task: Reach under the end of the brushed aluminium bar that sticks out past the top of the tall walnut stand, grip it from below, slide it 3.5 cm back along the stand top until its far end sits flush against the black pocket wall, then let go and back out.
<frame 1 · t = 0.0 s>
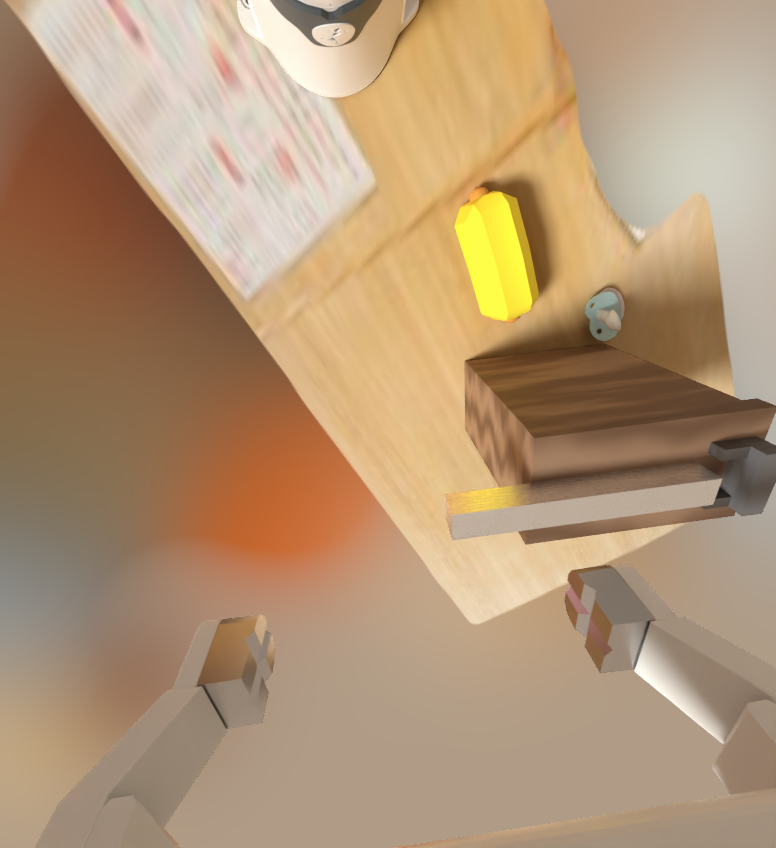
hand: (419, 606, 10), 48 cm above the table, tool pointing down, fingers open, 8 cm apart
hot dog: (491, 259, 52), on the table
aluminium bar: (569, 490, 37), point 26 cm above the table, touching walnut stand
pacifier: (601, 311, 56), on the table
walnut stand: (531, 388, 60), on the table
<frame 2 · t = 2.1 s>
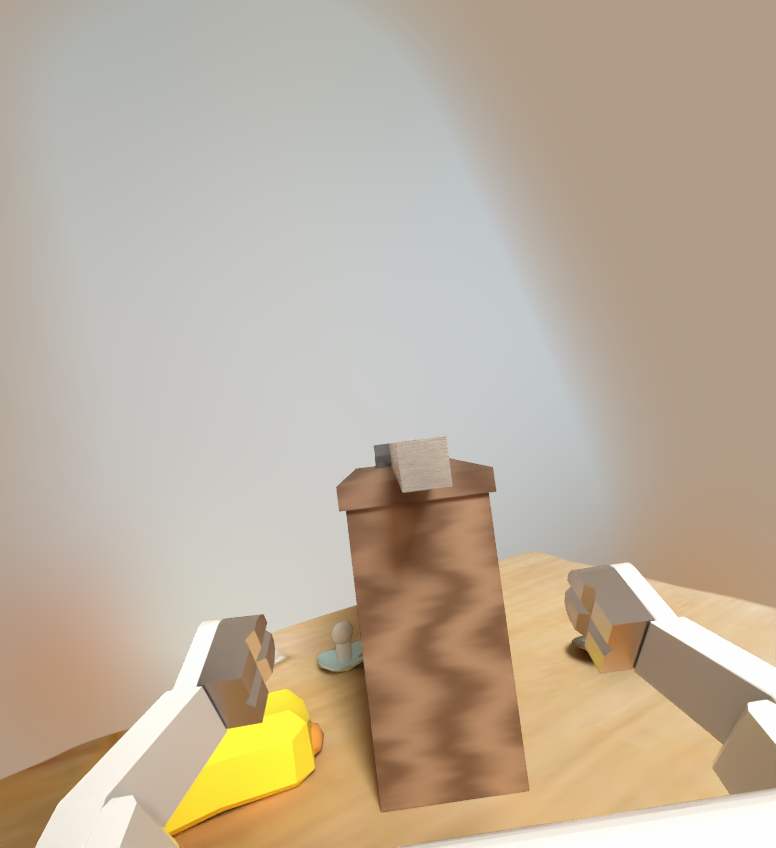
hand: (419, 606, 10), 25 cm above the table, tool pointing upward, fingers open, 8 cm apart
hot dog: (226, 796, 33), on the table
aluminium bar: (411, 473, 35), point 26 cm above the table, touching walnut stand
pacifier: (344, 665, 51), on the table
walnut stand: (435, 704, 41), on the table
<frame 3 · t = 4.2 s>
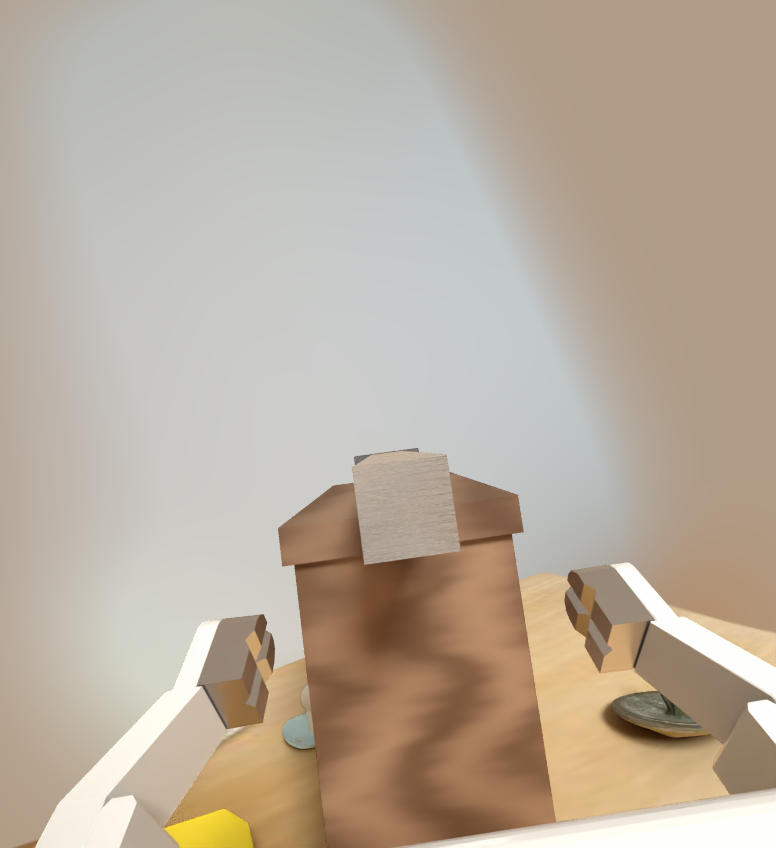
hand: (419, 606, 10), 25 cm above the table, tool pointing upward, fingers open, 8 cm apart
lid: (679, 735, 34), on the table
aluminium bar: (396, 501, 24), point 26 cm above the table, touching walnut stand
pacifier: (318, 735, 40), on the table
walnut stand: (435, 813, 30), on the table
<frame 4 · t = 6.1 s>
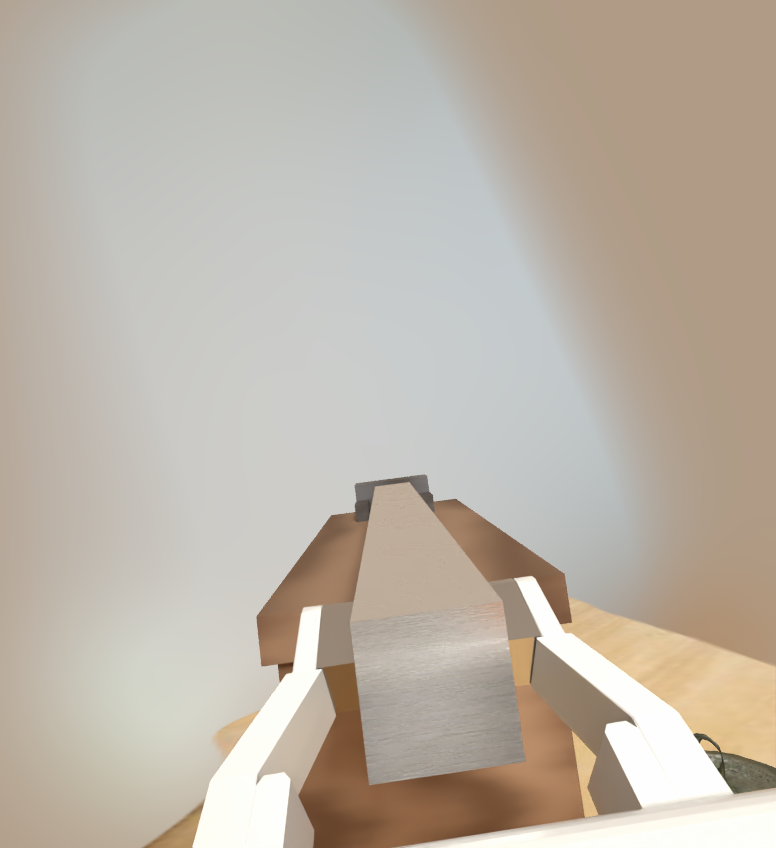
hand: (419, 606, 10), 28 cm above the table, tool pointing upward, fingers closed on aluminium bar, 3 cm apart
lid: (723, 808, 30), on the table
aluminium bar: (405, 564, 19), point 26 cm above the table, touching gripper, walnut stand
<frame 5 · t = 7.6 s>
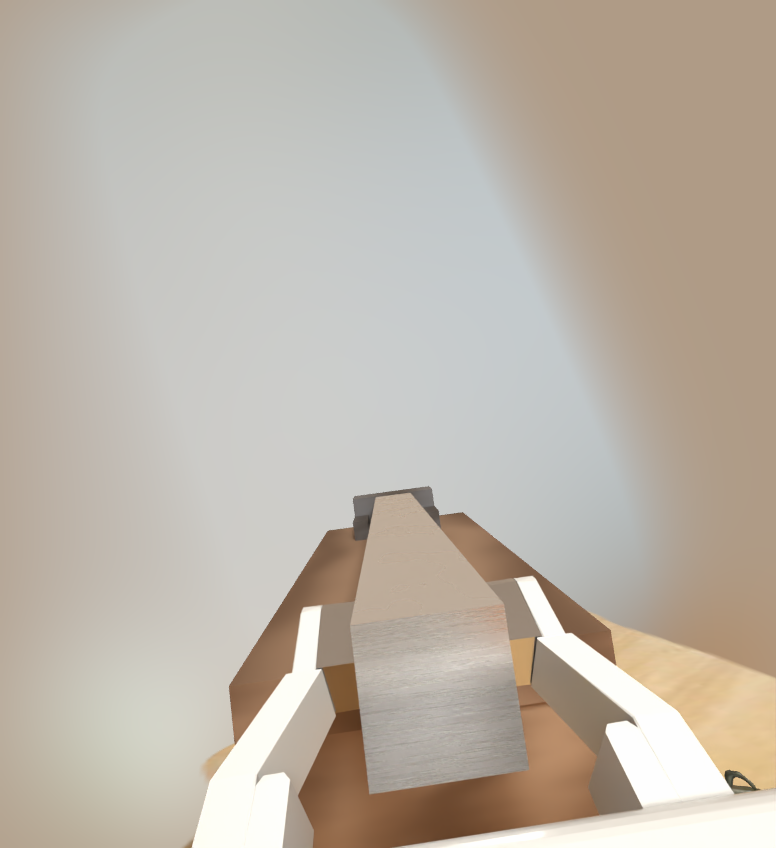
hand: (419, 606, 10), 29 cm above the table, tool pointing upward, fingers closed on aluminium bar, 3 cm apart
aluminium bar: (406, 575, 19), point 26 cm above the table, touching gripper, walnut stand
when the fingers open (28 cm above the table, at t = 8.5 s): aluminium bar stays where it is, resting on walnut stand.
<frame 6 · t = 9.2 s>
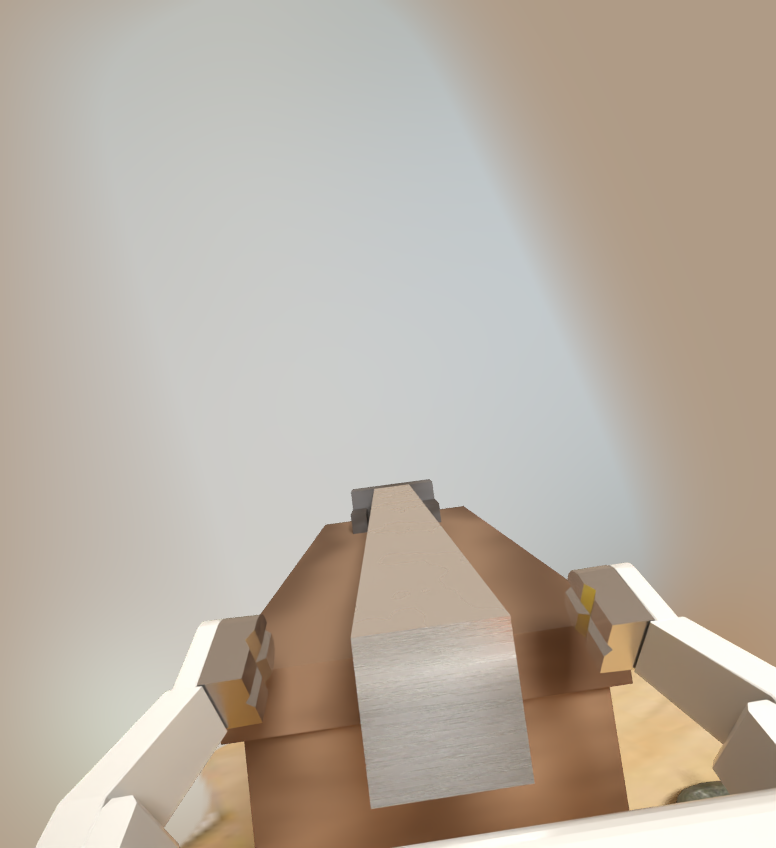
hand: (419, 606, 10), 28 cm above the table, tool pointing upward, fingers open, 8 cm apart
aluminium bar: (406, 569, 19), point 26 cm above the table, touching walnut stand
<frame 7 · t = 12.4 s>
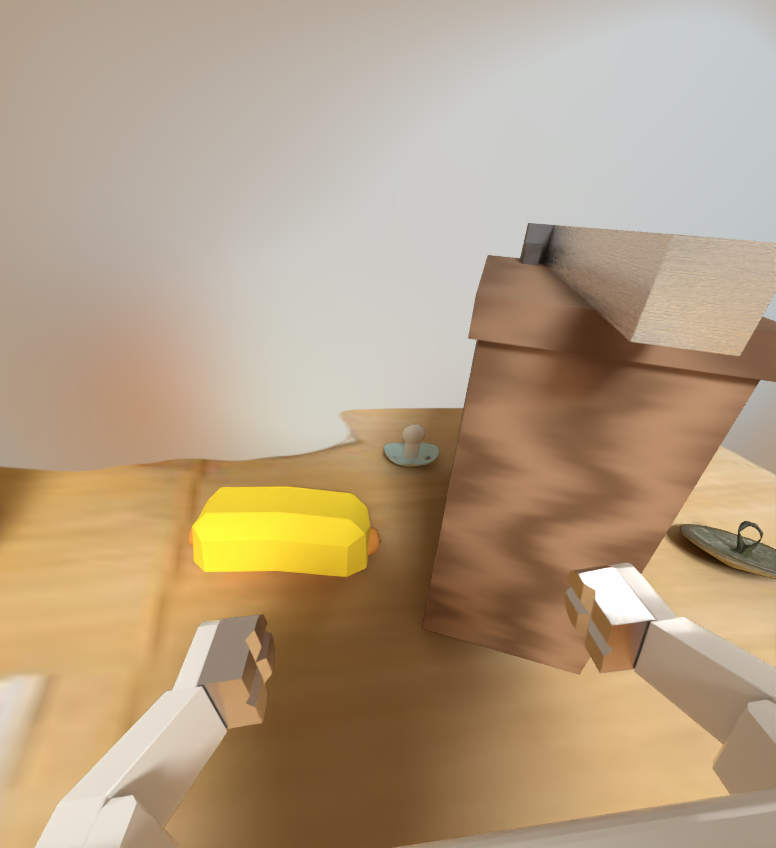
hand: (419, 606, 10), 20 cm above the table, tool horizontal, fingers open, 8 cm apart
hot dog: (287, 552, 36), on the table
lid: (731, 565, 38), on the table
aluminium bar: (593, 286, 22), point 26 cm above the table, touching walnut stand
pacifier: (408, 460, 51), on the table
walnut stand: (497, 545, 38), on the table
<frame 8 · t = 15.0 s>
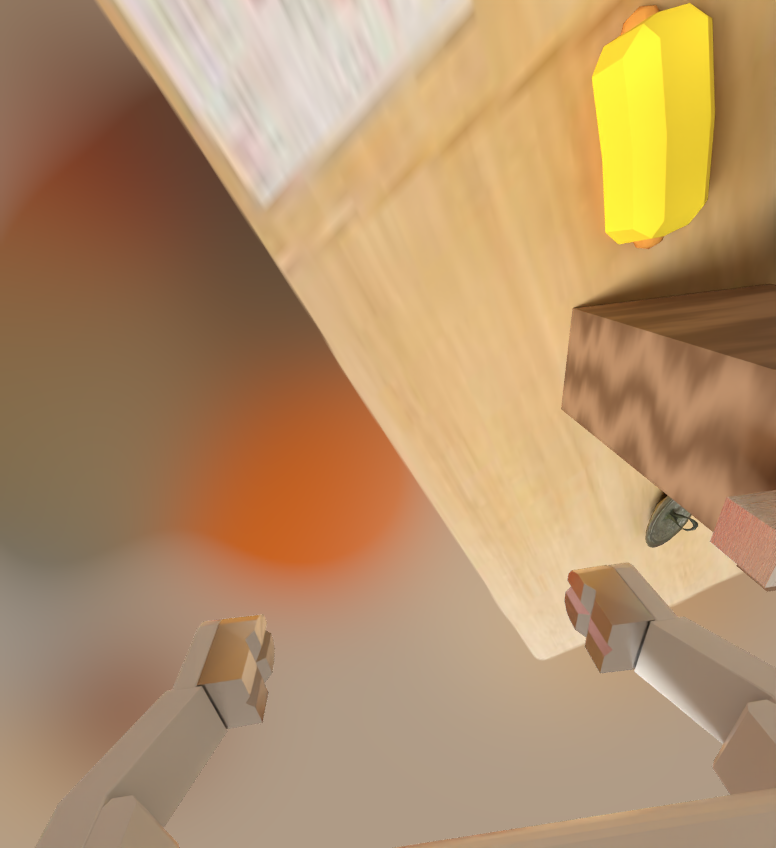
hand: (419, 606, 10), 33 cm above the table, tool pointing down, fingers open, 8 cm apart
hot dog: (628, 147, 34), on the table
lid: (660, 505, 54), on the table
walnut stand: (659, 350, 43), on the table
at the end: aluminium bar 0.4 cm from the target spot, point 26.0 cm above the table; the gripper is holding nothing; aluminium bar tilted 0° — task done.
